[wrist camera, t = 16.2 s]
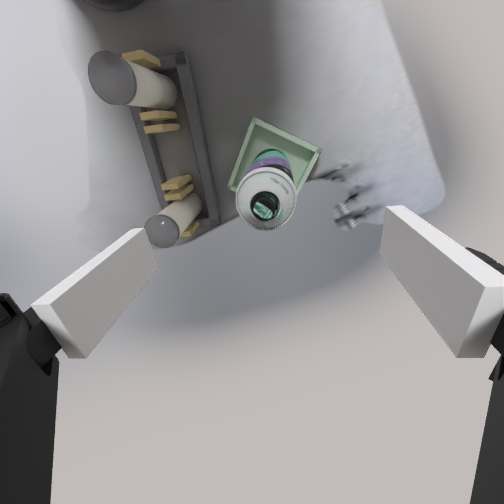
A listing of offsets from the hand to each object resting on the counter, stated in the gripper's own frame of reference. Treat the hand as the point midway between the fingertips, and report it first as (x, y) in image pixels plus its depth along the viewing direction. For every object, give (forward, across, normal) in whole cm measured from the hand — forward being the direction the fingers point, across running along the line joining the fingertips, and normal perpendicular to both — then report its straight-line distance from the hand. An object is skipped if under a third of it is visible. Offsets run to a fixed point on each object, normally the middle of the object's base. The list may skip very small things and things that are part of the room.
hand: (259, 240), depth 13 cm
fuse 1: (+26, -14, +11) cm, 32 cm away
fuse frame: (+26, -14, +3) cm, 30 cm away
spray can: (+26, 0, 0) cm, 26 cm away
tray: (+26, 0, 0) cm, 26 cm away
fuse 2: (+26, -14, -5) cm, 30 cm away
